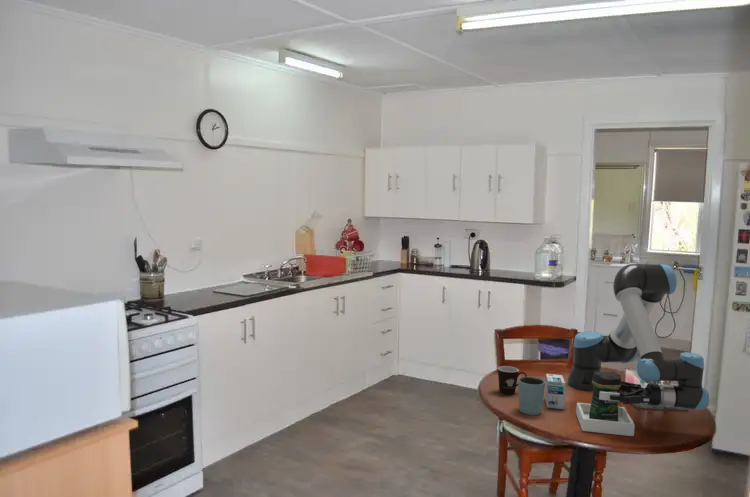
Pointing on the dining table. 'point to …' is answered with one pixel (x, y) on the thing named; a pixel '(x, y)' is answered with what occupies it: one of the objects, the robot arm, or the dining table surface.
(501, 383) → the coffee mug
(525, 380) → the blue-grey cup
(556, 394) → the light bulb box
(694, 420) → the dining table surface
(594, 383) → the coffee jar
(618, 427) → the tray
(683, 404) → the robot arm
